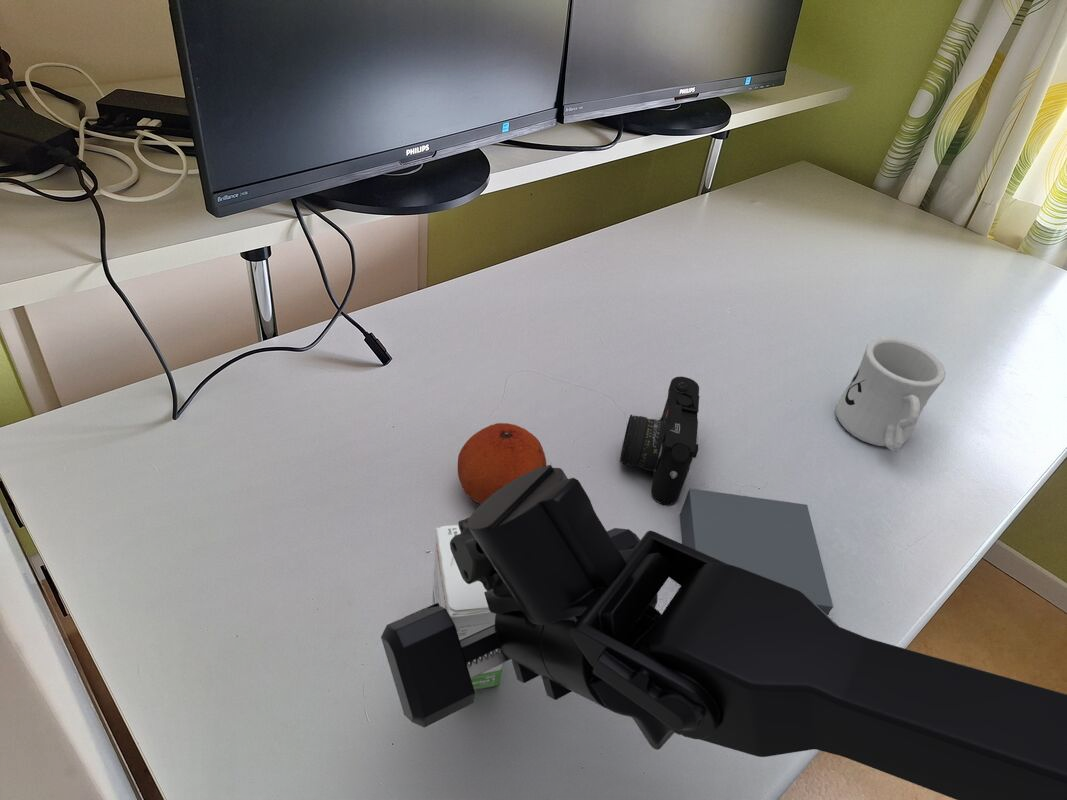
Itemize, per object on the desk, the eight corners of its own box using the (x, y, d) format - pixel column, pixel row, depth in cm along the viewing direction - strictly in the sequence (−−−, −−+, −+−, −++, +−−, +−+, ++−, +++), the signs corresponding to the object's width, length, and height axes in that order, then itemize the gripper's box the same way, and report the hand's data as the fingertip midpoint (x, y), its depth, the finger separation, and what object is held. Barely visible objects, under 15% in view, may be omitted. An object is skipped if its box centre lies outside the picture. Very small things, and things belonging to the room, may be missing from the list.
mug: (827, 393, 97) (858, 330, 90) (897, 405, 97) (934, 342, 90) (846, 462, 87) (882, 397, 81) (925, 475, 87) (967, 411, 81)
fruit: (471, 451, 82) (476, 395, 77) (550, 474, 81) (561, 419, 75) (441, 510, 75) (444, 453, 70) (527, 536, 74) (536, 480, 69)
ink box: (501, 687, 62) (515, 607, 55) (442, 696, 61) (448, 615, 53) (484, 600, 68) (494, 517, 61) (430, 607, 67) (433, 523, 59)
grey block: (817, 631, 70) (833, 606, 67) (688, 614, 69) (699, 588, 67) (793, 529, 79) (807, 504, 76) (679, 513, 79) (689, 487, 76)
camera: (628, 410, 90) (642, 357, 85) (688, 423, 89) (706, 371, 84) (612, 497, 79) (628, 443, 74) (681, 513, 79) (701, 459, 73)
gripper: (671, 456, 48) (554, 461, 61) (392, 564, 39) (330, 542, 53) (719, 625, 48) (592, 592, 62) (453, 768, 40) (375, 693, 53)
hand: (480, 600), depth 58 cm, fingers open, 9 cm apart
